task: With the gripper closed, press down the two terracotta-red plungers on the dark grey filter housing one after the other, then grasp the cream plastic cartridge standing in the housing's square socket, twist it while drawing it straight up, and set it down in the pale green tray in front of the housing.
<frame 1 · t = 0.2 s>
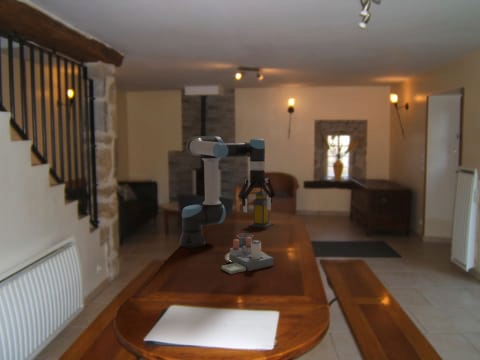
hand: (257, 210, 211), 27 cm above the table, fingers open, 13 cm apart
mug: (245, 253, 229), on the table
cartridge: (255, 265, 208), resting in housing
lantern: (261, 225, 298), on the table
housing: (250, 263, 212), on the table
tray: (233, 269, 202), on the table
plunger b: (248, 241, 218), point 9 cm above the table, slide at 0.0 cm
plunger a: (236, 244, 213), point 9 cm above the table, slide at 0.0 cm
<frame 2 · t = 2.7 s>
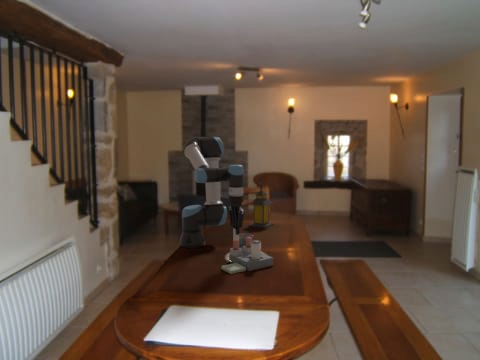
hand: (236, 240, 213), 12 cm above the table, fingers closed
plunger a: (236, 244, 213), point 9 cm above the table, slide at 0.4 cm, touching gripper
everything else where it was.
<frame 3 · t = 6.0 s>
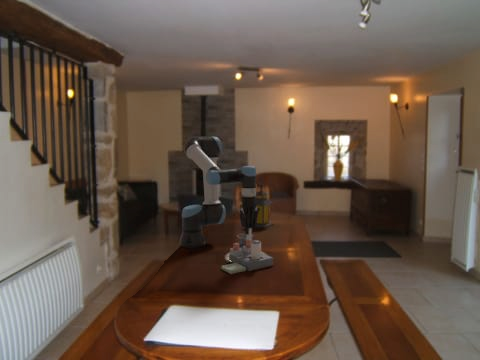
hand: (248, 239, 217), 11 cm above the table, fingers closed
plunger b: (248, 244, 218), point 8 cm above the table, slide at 1.4 cm, touching gripper
plunger a: (236, 247, 213), point 8 cm above the table, slide at 1.9 cm
everything else where it was.
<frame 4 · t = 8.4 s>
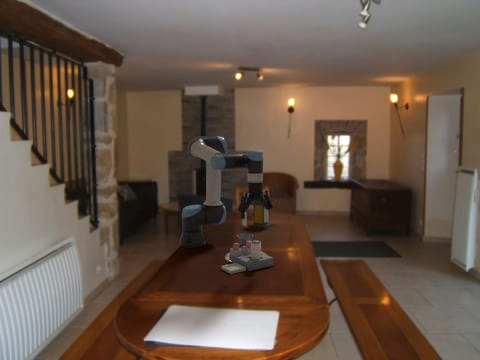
hand: (255, 223, 207), 21 cm above the table, fingers open, 13 cm apart
plunger b: (248, 245, 218), point 8 cm above the table, slide at 1.9 cm
everything else where it was.
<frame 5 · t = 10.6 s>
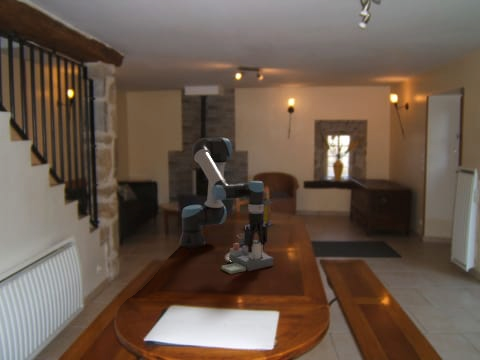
hand: (255, 257, 208), 4 cm above the table, fingers closed on cartridge, 5 cm apart
cartridge: (255, 265, 208), resting in housing, touching gripper
everything else where it was.
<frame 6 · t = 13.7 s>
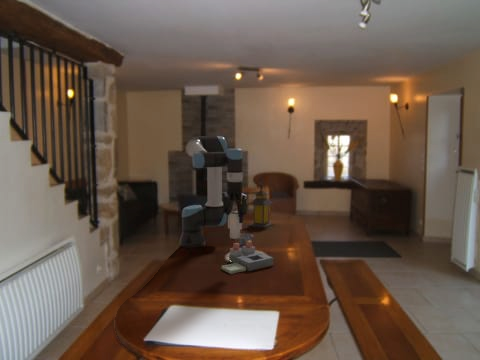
hand: (234, 228, 200), 21 cm above the table, fingers closed on cartridge, 5 cm apart
cartridge: (234, 237, 201), point 16 cm above the table, touching gripper
everything else where it was.
when the fingers open (6 cm above the table, at t = 16.8 s): cartridge stays where it is, resting on tray.
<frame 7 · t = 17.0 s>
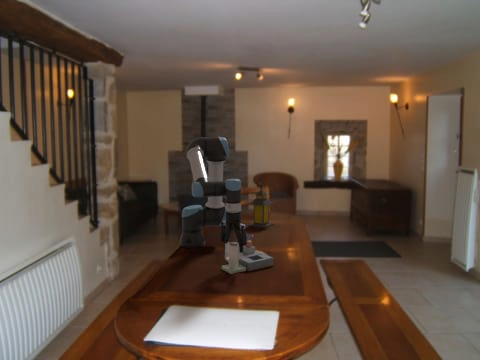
hand: (233, 257, 201), 6 cm above the table, fingers open, 7 cm apart
cartridge: (233, 268, 202), point 1 cm above the table, touching tray
everything else where it was.
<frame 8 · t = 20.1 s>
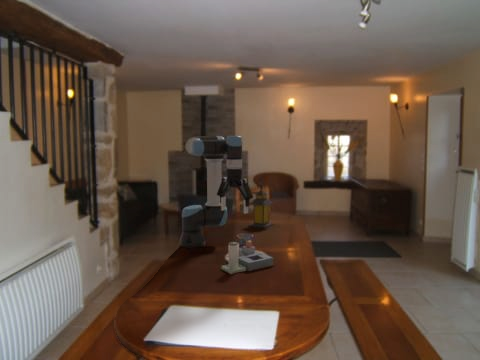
hand: (234, 211, 200), 29 cm above the table, fingers open, 13 cm apart
nothing on the table moved.
at the end: cartridge 0.1 cm off-centre on the tray, point 0.8 cm above the tray's base; plunger a slide at 1.9 cm; plunger b slide at 1.9 cm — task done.
